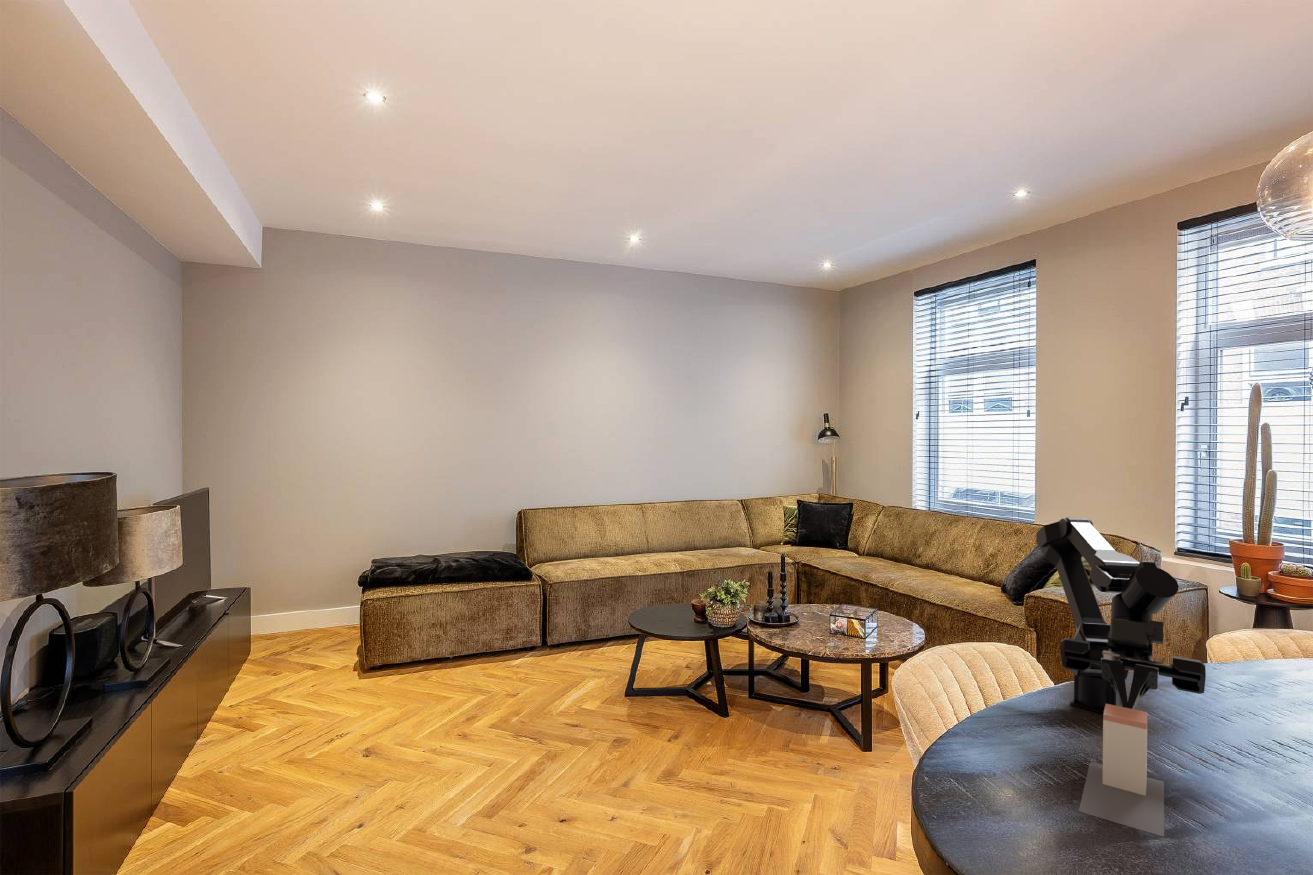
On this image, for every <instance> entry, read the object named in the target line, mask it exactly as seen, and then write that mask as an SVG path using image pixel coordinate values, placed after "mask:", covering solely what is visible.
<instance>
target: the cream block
mask: <svg viewBox="0 0 1313 875" xmlns="http://www.w3.org/2000/svg"><path fill="white" fill-rule="evenodd" d="M1102 716H1103V719H1102V722H1103V723H1102V737H1103V738H1102V766H1103V784H1105V785H1108V786H1112V787H1116V788H1119V789H1123V790H1126V791H1130V792H1134V793H1137V794H1141V795H1145V796H1146V784H1147V777H1148V772H1147V771H1148V768H1147V767H1148V766H1147V764H1148V763H1147V762H1148V712H1147V711H1143V710H1139V709H1129V708H1125V707H1122V706H1121V707H1120V706H1115V705H1111V704H1105V709H1104V713H1103V714H1102Z"/></svg>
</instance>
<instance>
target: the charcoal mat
mask: <svg viewBox="0 0 1313 875" xmlns="http://www.w3.org/2000/svg"><path fill="white" fill-rule="evenodd" d="M1084 782H1085V783H1084V786H1083V791H1082V795H1081V799H1080V804H1079V807H1078V812H1080V813H1083V814H1087V815H1089V816H1092V817H1095V818H1096V817H1097V818H1099V819H1102V820H1106V821H1109V822H1112V823H1116V824H1120V825H1122V826H1124V827H1125V826H1126V827H1129V828H1132V829H1136V830H1139V831H1143V832H1147V833H1148V834H1153V835H1155V836H1159V837H1162V838H1165V781H1163V780H1159V779H1155V778H1150V777H1148V776H1147V784H1146V796H1145V795H1141V794H1137V793H1134V792H1130V791H1126V790H1123V789H1119V788H1116V787H1112V786H1108V785H1105V784H1103V764H1097V763H1094V762H1089V765H1088V769H1087V774H1086V778H1085V781H1084Z"/></svg>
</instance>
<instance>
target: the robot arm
mask: <svg viewBox="0 0 1313 875" xmlns="http://www.w3.org/2000/svg"><path fill="white" fill-rule="evenodd" d="M1035 535H1036V536H1035V540H1036V544H1037V546H1038V547H1039V548H1040V551H1041V553H1042V556H1043V558H1045V559H1046V560H1047V562H1049V563H1050V564H1052V565H1053V566H1055V568H1056V571H1057V574H1058V576H1059V579H1060V583H1061V585H1062V589H1063V591H1064V594H1065V597H1066V600H1067V602H1068V606H1069V610H1070V612H1071V614H1072V618H1073V621H1074V624H1075V626H1076V631H1075V632H1074V635H1073V637H1072V638H1068V637H1065V638H1063V639H1061V641H1060V649H1059V652H1060V658H1061V666H1062V667H1064V668H1065V669H1067V670H1069V671H1070V672H1071V673H1073V698H1072V699H1071V700H1069V701H1070V702H1069V704H1070V705H1072V706H1076V707H1079V708H1081V709H1085V710H1089V711H1092V712H1095V713H1099V714H1102V715H1103V713H1104V709H1105V704H1111V705H1115V706H1120V707H1125V708H1129V709H1134V710H1136V707H1137V705H1138V704H1139V702H1140V701H1141V700H1142V698H1143V697H1144V696H1145V695H1146V694H1147V693H1148V692H1149V690H1158V688H1159V687H1158V686H1159V684H1158V682H1159V681H1158V680H1159V678H1160V677H1161V676H1162V677H1168V678H1171V685H1173V687H1174V688H1175V689H1177V690H1179V691H1182V692H1187V693H1192V694H1193V693H1194V694H1199V695H1200V694H1205V688H1206V678H1207V676H1206V675H1207V672H1206V665H1205V663H1204V662H1202V660H1200V659H1193V658H1189V657H1183V656H1176V655H1172V664H1171V663H1166V662H1165V663H1164V662H1162V661H1161V662H1160V661H1155V660H1153V644H1158V645H1164V624H1165V623H1164V621H1157V620H1153V617H1154V616H1153V615H1155V614H1158V613H1160V612H1162V610H1163V609H1164V608H1165V607H1166V606H1167V605H1168V603H1170V602H1171V600H1172V599H1173V598H1174V597H1175V596H1176V595H1177V593H1178V592H1179V586H1180V585H1179V583H1178V580H1177V579H1176V578H1174V576H1172V575H1171V574H1170V573H1169V572H1168V571H1166V570H1164V569H1162V568H1159V567H1157V564H1156V562H1155V561H1143V560H1142V561H1140V562H1139V561H1138V560H1137V559H1136V558H1133V557H1132V556H1131V555H1128V554H1124V553H1122V552H1118V551H1116V550H1115V548H1114V547H1113V546H1112V545H1111V544H1110V543H1109V542H1108V541H1107V540H1106V539H1105V538H1104V537H1103V535H1101V533H1100V532H1099V531H1098V530H1097V529H1096V528H1095V527H1094V523H1093V521H1092V519H1089V518H1087V517H1065V518H1061V519H1060V520H1058V521H1056V522H1052V523H1048V524H1046V525H1043V526H1042V527H1041V528H1039V529H1038V530H1037V531H1036V534H1035ZM1082 557H1083V558H1084V560H1085V561H1086V562H1087V563H1088V565H1089V566H1090V568H1091V569H1090V572H1089V576H1088V573H1087V571H1086V568H1085V565H1084V563H1083V560H1082V559H1083V558H1082ZM1090 580H1091V582H1092V584H1093V585H1094V586H1095V588H1096V589H1097V590H1098V591H1099V592H1100V593H1112V594H1115V595H1114V596H1113V597H1112V599H1111V608H1110V624H1109V623H1107V622H1106V621H1105V619H1104V616H1103V613H1102V610H1101V608H1100V606H1099V603H1098V600H1097V597H1096V595H1095V592H1094V589H1093V587H1092V586H1093V585H1092V584H1091V582H1090ZM1129 671H1133V676H1132V680H1131V685H1130V690H1129V695H1127V686H1126V680H1127V679H1128V675H1129ZM1159 676H1160V677H1159Z"/></svg>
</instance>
